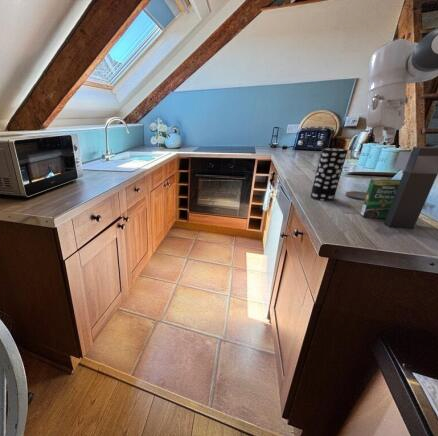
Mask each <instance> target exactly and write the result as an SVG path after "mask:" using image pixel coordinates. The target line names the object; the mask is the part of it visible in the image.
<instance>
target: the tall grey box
mask: <svg viewBox="0 0 438 436" xmlns="http://www.w3.org/2000/svg"><path fill="white" fill-rule="evenodd" d="M393 168H394V169H396V170H399V171H402V172H401V174H402V176H401V178H400V180H401V181H400V183H399V186H398V188H397V191H396V193H395V196H394V199H393V201H392V204H391V206H390V209H389V212H388V214H387V217H386V219H384V222H383V225H385V226H386V227H388V228H392V229H393V228H394V229H407V230H414V229H415V226H416V224H417V222H418V220H419V217H420V215H421V213H422V210H423V208H424V207H425V204H426V202H427V199H428V197H429V195H430V193H431V190H432V188H433V186H434V183H435V181H436V179H437V177H438V146H413V147H412V150H411V151H399V154H398V156H397V158H396V161H395V163H394V167H393Z"/></svg>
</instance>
